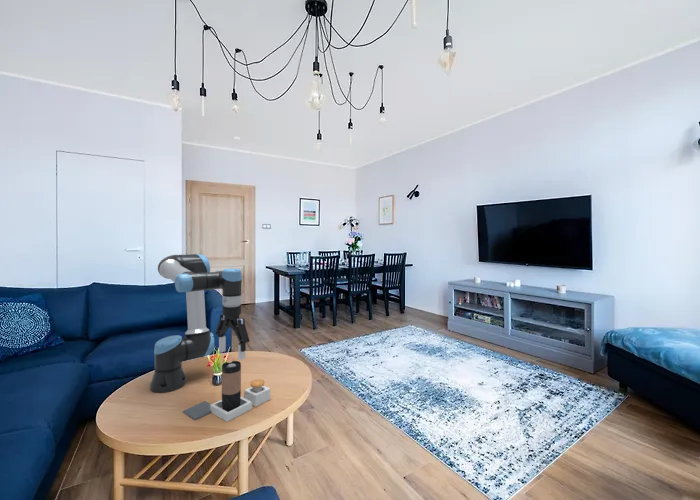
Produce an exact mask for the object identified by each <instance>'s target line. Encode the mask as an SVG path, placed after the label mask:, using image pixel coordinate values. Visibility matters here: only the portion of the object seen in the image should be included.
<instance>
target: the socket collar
mask: <svg viewBox="0 0 700 500" xmlns="http://www.w3.org/2000/svg"><path fill="white" fill-rule="evenodd" d="M210 404H211V405H210V411H211V413H210V414H213V415H214V416H217V417H218V418H220V419H221V420H223V421H225V422H226V423H228V422H229V421H232V420H234V419H235V418H237V417H240V416H241V415H243V414H245V413H247V412H248V411H251V410H252V409H253V405H252V402H251V401H249V400H247V399H245V398H244V397H243V396H241V399H240V406H239V407H237V408H235V409H233V410H231V411H229V412H227V411H225V410H223V409H222V399H219V400H218V401H216V402H213V403H210Z"/></svg>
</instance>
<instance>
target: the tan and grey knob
mask: <svg viewBox="0 0 700 500" xmlns="http://www.w3.org/2000/svg"><path fill="white" fill-rule="evenodd" d="M249 386H250V387H253V392H255V393H258V392H260V391H262V386H265V380H264V379H261V378H260V379H259V378H258V379H257V378H256V379H253V380H252V381H250V385H249Z"/></svg>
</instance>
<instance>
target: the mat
mask: <svg viewBox="0 0 700 500" xmlns="http://www.w3.org/2000/svg"><path fill="white" fill-rule="evenodd" d="M211 404H212V403H209V402H208V401H206V400H204V401H202V402H200V403H196V404H195V405H193V406H190V407H188V408H186V409H183V410H182V413H183V414H185V415H187V416H188V417H189V418H191V419H192V420H194V421H197V420H200V419H202V418H203V417H205V416H208V415H209V414H212V413H211V411H210V405H211Z"/></svg>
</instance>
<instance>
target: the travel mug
mask: <svg viewBox="0 0 700 500" xmlns="http://www.w3.org/2000/svg"><path fill="white" fill-rule="evenodd" d="M241 394H242V363H241V361H240V360H239V361H238V360H232V361H231V362H227V361H226V362H223V364H222V365H221V400H222V408H221V409H223V410H225V411H227V412H229V411H231V410H233V409H235V408H237V407H239V406H241V405H240V399H241V397H242V396H241Z"/></svg>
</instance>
